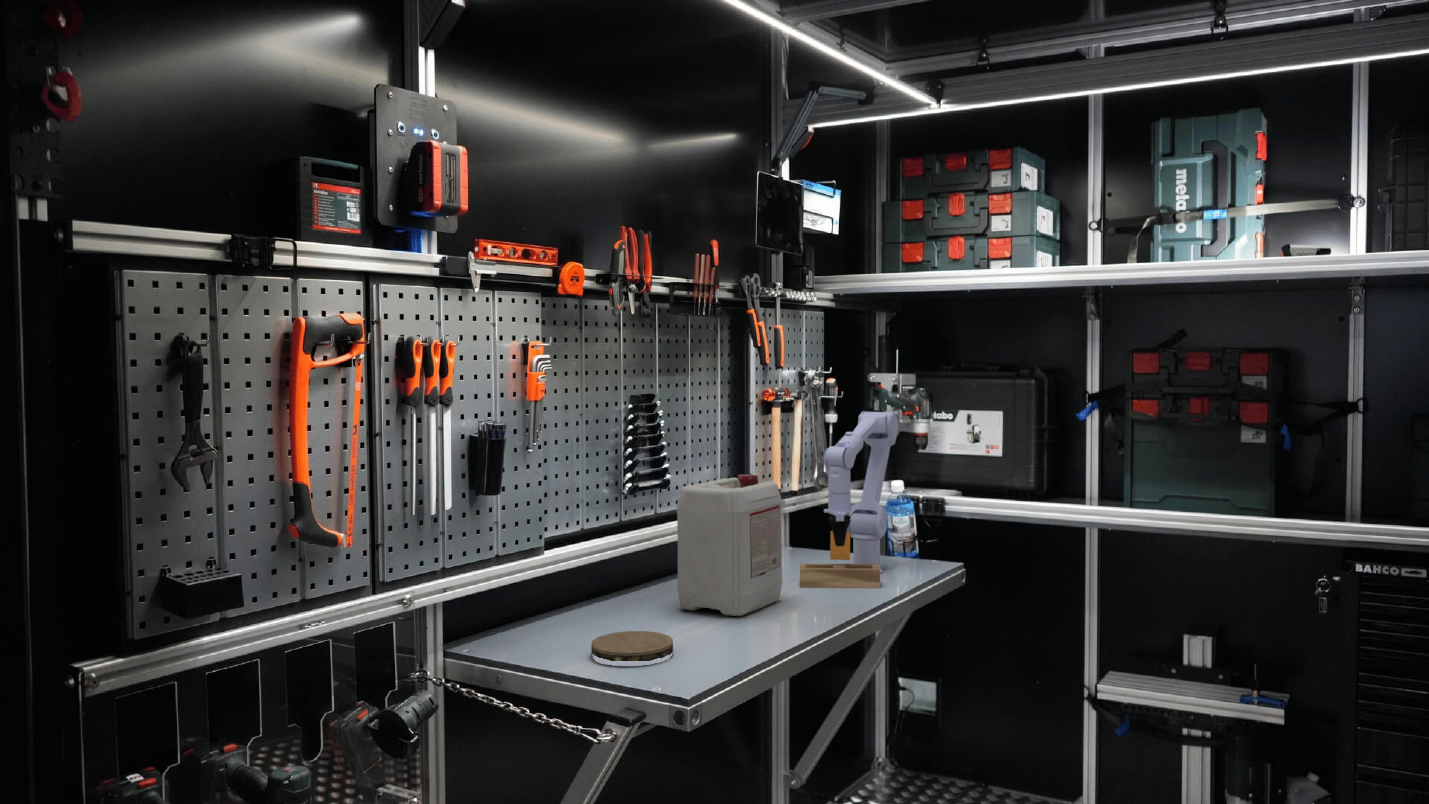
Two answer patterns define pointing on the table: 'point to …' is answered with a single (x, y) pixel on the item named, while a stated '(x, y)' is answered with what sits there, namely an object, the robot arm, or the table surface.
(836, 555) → the orange wooden block
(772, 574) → the jerry can
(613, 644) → the brown round disc
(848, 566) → the slotted wooden block
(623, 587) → the table surface
